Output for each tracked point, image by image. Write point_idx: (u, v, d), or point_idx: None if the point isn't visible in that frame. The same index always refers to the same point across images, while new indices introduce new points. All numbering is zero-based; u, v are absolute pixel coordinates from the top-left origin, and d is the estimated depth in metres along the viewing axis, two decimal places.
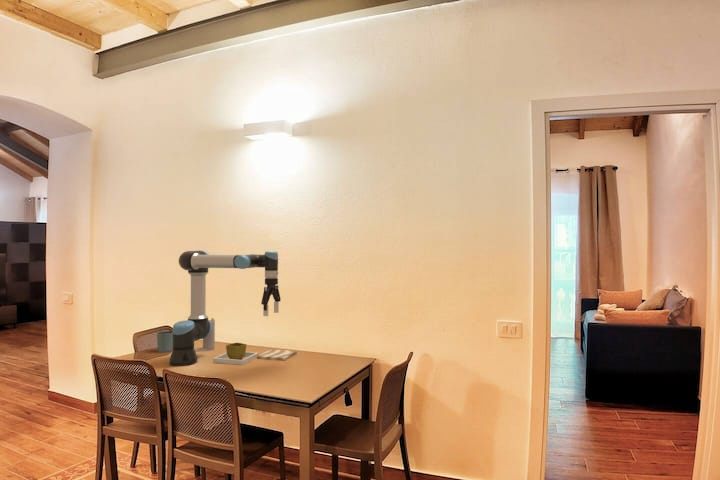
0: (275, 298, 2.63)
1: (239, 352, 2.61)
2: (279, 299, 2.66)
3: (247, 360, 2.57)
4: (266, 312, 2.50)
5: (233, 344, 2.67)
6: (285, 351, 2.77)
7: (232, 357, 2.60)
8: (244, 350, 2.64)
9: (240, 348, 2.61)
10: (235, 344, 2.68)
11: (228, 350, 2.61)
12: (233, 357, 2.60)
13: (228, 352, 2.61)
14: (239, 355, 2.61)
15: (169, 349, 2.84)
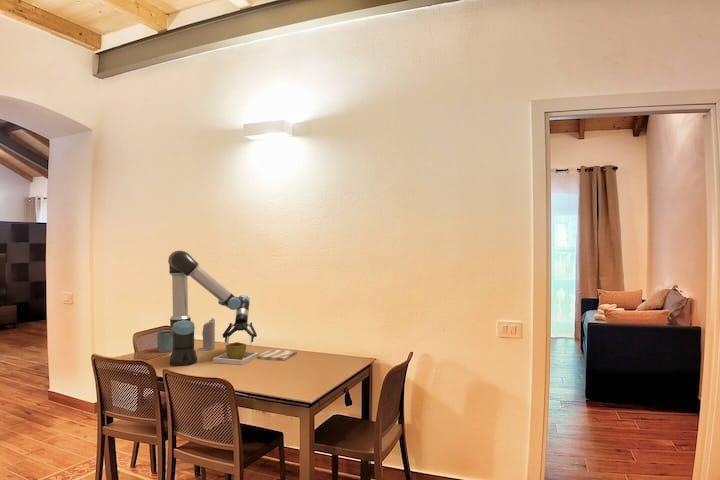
0: (230, 334, 2.70)
1: (239, 352, 2.60)
2: None
3: (247, 360, 2.57)
4: None
5: (233, 344, 2.67)
6: (285, 351, 2.77)
7: (232, 357, 2.60)
8: (244, 350, 2.64)
9: (240, 348, 2.61)
10: (235, 344, 2.68)
11: (228, 350, 2.61)
12: (233, 357, 2.60)
13: (228, 352, 2.61)
14: (239, 355, 2.61)
15: (169, 349, 2.84)
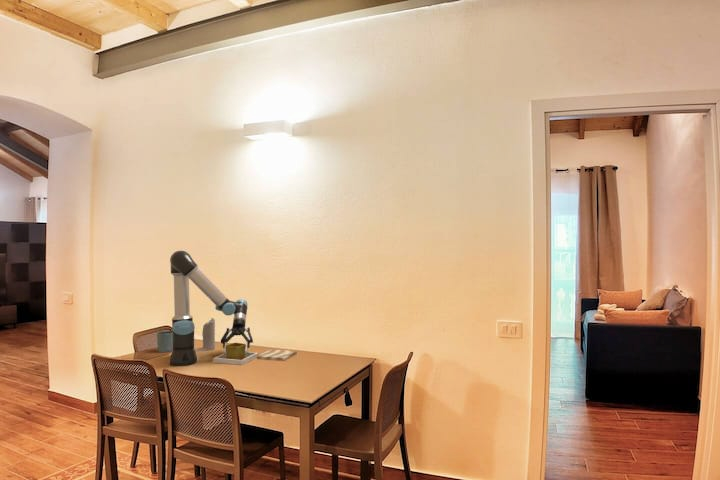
0: (228, 340, 2.66)
1: (240, 352, 2.61)
2: (222, 342, 2.66)
3: (247, 360, 2.57)
4: None
5: (232, 344, 2.66)
6: (285, 351, 2.77)
7: (232, 357, 2.60)
8: (244, 350, 2.64)
9: (241, 348, 2.61)
10: (234, 344, 2.68)
11: (228, 350, 2.60)
12: (234, 357, 2.60)
13: (228, 352, 2.61)
14: (240, 355, 2.61)
15: (169, 349, 2.84)
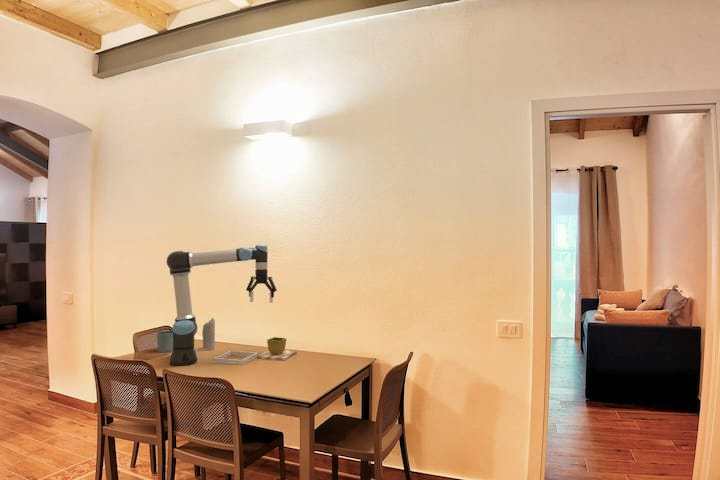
0: (253, 288, 2.83)
1: (281, 346, 2.69)
2: None
3: (247, 360, 2.57)
4: (272, 299, 2.80)
5: (272, 339, 2.75)
6: (285, 351, 2.77)
7: (274, 351, 2.68)
8: (284, 344, 2.73)
9: (282, 342, 2.70)
10: (274, 339, 2.76)
11: (270, 344, 2.69)
12: (275, 351, 2.68)
13: (270, 346, 2.69)
14: (281, 349, 2.70)
15: (169, 349, 2.84)
